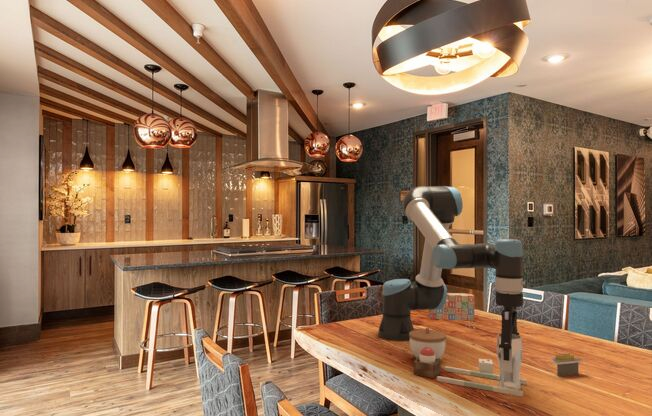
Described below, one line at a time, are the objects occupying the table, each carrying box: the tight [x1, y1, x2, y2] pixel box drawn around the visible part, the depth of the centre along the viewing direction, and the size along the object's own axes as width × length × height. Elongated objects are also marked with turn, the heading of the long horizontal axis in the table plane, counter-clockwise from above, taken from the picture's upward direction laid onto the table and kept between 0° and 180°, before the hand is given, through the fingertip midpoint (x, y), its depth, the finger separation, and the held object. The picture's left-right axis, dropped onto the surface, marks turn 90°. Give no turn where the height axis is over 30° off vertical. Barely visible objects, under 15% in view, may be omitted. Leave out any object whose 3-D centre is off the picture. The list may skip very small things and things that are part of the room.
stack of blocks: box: [427, 292, 476, 322], centre depth 214 cm, size 21×6×12 cm, turn 83°
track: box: [436, 366, 527, 397], centre depth 131 cm, size 24×11×1 cm, turn 61°
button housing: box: [412, 357, 442, 379], centre depth 139 cm, size 7×7×4 cm
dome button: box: [419, 347, 435, 364], centre depth 139 cm, size 5×5×7 cm
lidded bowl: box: [409, 327, 447, 359], centre depth 152 cm, size 13×13×11 cm
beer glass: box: [496, 332, 523, 391], centre depth 128 cm, size 7×7×15 cm
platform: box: [551, 353, 584, 377], centre depth 138 cm, size 12×18×7 cm, turn 105°
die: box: [478, 358, 494, 374], centre depth 139 cm, size 4×4×4 cm
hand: (509, 364), depth 127 cm, fingers open, 13 cm apart
